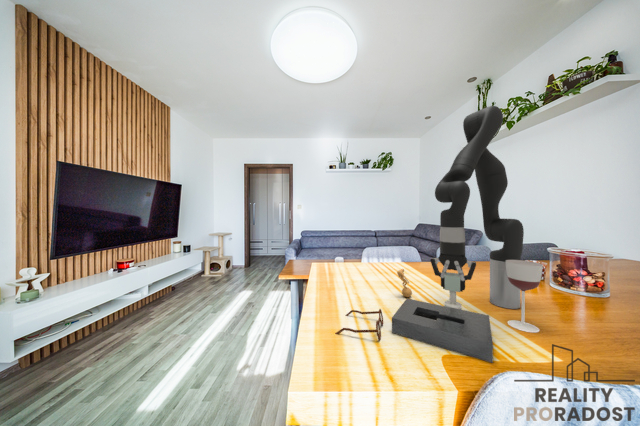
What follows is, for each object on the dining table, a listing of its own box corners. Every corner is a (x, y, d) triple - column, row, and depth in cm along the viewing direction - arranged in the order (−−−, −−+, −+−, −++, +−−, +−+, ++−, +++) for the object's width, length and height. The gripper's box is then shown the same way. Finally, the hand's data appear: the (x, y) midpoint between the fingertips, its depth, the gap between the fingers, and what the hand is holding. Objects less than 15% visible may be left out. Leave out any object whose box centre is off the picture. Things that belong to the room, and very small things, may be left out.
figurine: (416, 300, 91) (416, 271, 91) (402, 301, 91) (402, 271, 91) (406, 293, 100) (406, 266, 100) (393, 293, 99) (393, 266, 99)
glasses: (380, 344, 62) (380, 326, 62) (334, 335, 67) (334, 318, 67) (383, 322, 75) (383, 307, 75) (345, 316, 79) (345, 302, 79)
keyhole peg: (445, 303, 81) (445, 271, 81) (461, 306, 78) (461, 273, 78) (444, 308, 77) (443, 275, 77) (461, 312, 74) (460, 277, 74)
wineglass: (535, 336, 65) (535, 267, 65) (500, 322, 73) (500, 261, 73) (547, 329, 69) (547, 264, 69) (512, 317, 77) (512, 258, 77)
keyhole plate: (391, 332, 67) (391, 317, 67) (406, 310, 82) (406, 298, 82) (492, 363, 54) (492, 344, 54) (488, 330, 69) (488, 315, 69)
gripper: (477, 240, 76) (477, 290, 77) (430, 237, 84) (431, 283, 85) (477, 242, 70) (478, 297, 70) (427, 240, 78) (428, 289, 78)
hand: (452, 289), depth 78 cm, fingers closed on keyhole peg, 4 cm apart
